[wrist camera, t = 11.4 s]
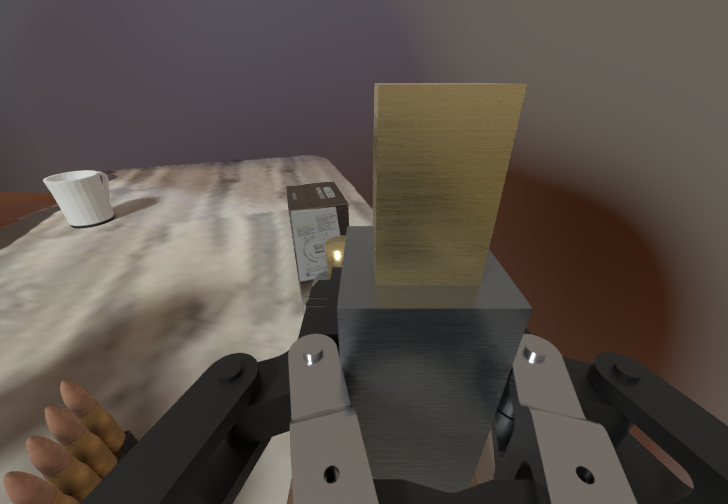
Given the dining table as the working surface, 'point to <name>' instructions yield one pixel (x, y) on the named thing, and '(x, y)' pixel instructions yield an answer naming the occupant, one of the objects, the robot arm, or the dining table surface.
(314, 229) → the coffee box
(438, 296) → the square bit
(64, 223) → the dining table surface
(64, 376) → the dining table surface
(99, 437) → the ammunition clip
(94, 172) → the mug
